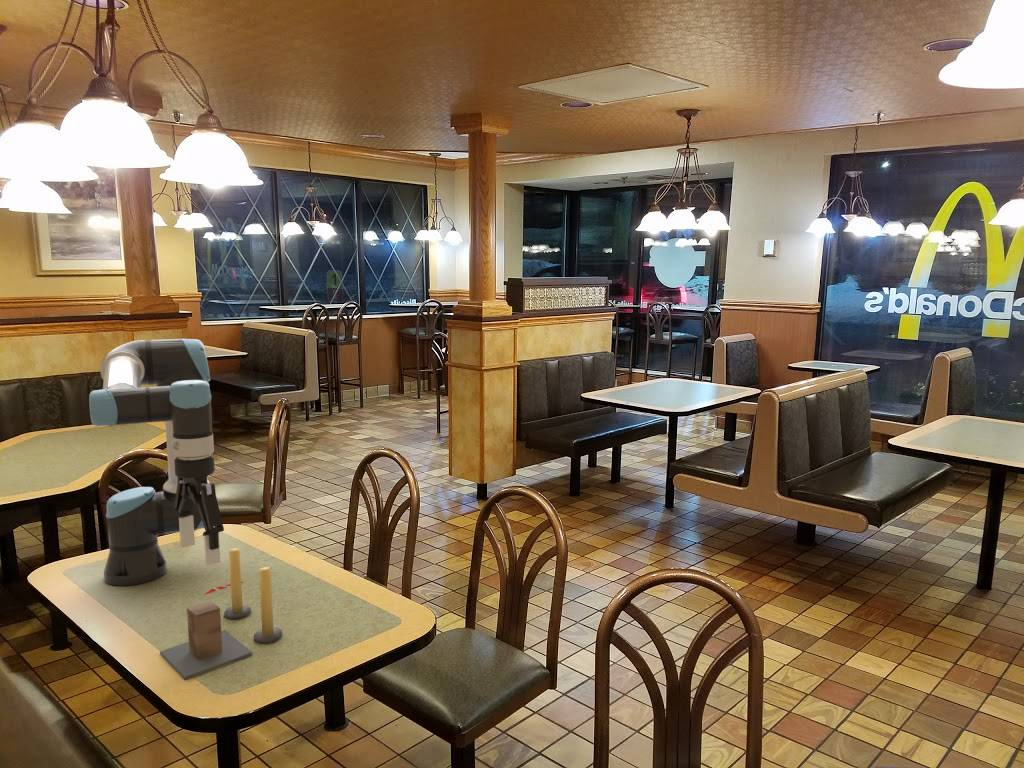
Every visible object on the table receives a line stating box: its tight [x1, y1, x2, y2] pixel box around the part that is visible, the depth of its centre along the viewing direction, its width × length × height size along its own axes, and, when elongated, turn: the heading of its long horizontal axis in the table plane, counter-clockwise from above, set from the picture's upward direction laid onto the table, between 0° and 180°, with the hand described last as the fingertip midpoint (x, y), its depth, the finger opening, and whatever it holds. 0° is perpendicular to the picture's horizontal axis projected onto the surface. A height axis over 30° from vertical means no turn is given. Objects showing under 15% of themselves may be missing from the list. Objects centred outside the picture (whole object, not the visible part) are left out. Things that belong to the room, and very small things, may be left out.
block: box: [186, 600, 222, 660], centre depth 151 cm, size 5×5×10 cm
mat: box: [159, 629, 253, 681], centre depth 152 cm, size 14×14×1 cm
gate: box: [223, 547, 283, 645], centre depth 164 cm, size 22×6×16 cm, turn 44°
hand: (200, 554), depth 149 cm, fingers open, 13 cm apart
